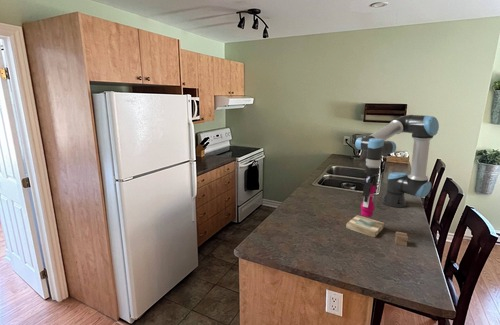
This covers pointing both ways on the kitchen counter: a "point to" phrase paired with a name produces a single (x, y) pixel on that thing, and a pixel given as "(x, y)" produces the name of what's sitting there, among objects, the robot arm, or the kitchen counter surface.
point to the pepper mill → (368, 211)
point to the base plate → (365, 226)
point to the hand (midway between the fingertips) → (367, 205)
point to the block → (401, 238)
